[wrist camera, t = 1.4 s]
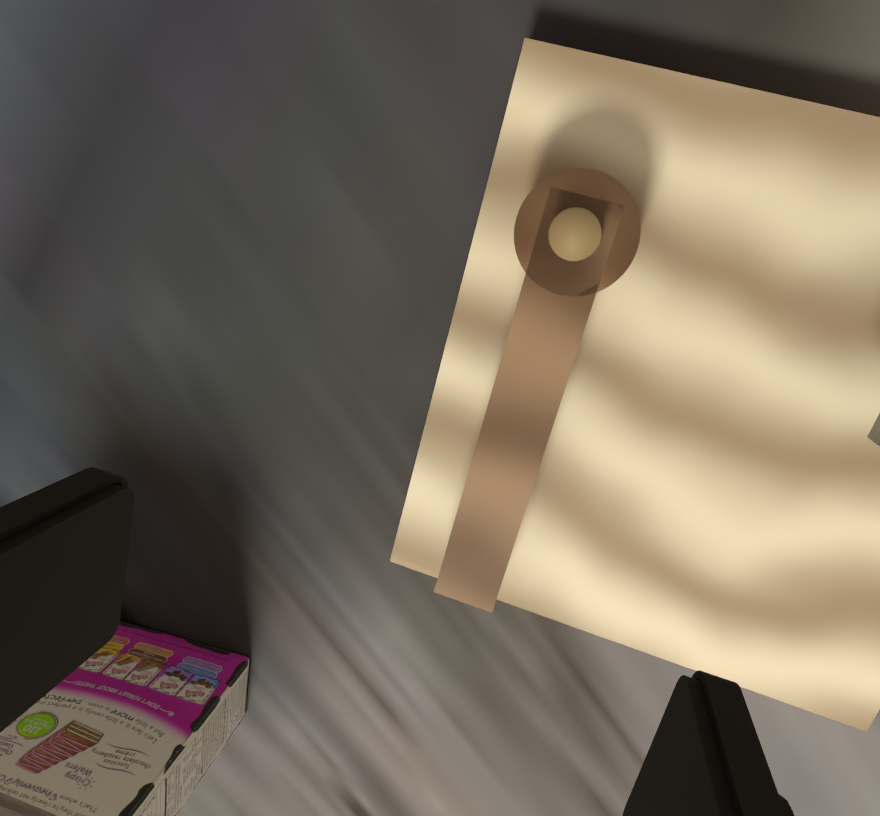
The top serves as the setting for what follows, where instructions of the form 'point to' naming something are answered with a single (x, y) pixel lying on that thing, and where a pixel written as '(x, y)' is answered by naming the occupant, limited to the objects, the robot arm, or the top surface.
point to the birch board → (690, 382)
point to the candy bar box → (126, 728)
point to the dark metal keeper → (875, 432)
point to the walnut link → (536, 364)
